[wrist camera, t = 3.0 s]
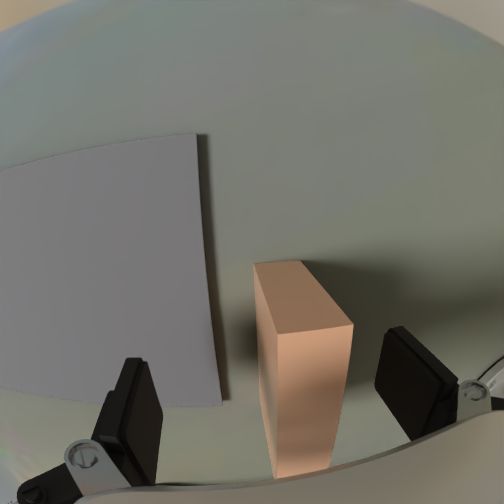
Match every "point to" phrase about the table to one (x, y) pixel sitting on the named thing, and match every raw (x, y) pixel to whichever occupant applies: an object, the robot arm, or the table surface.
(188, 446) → the table surface
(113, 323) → the mat
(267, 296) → the block
